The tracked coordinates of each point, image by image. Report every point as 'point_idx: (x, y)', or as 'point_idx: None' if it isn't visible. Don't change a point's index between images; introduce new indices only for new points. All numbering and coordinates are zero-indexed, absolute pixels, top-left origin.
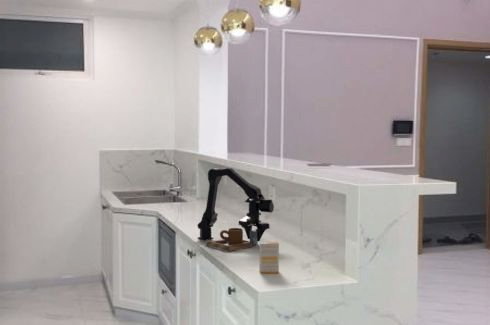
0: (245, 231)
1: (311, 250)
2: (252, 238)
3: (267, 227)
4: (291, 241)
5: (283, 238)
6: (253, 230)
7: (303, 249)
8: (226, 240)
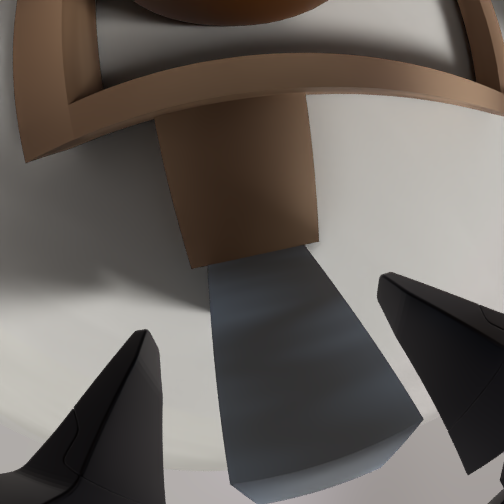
0: (501, 313)
1: (5, 425)
2: (244, 307)
3: None
4: (207, 470)
5: None
6: (350, 472)
7: (15, 423)
8: (485, 47)
